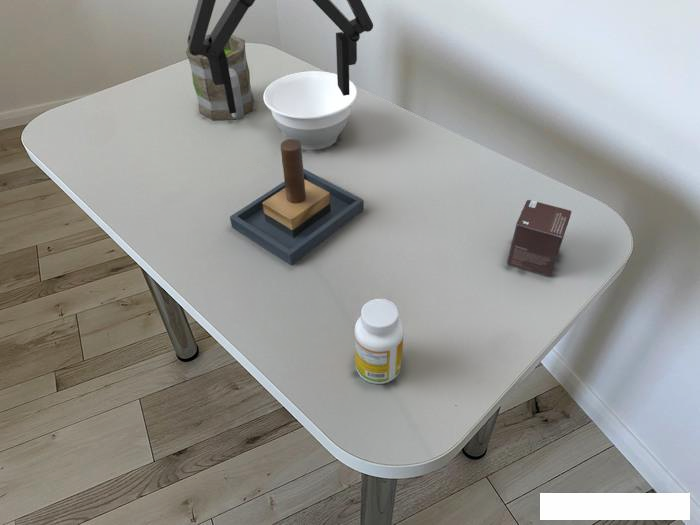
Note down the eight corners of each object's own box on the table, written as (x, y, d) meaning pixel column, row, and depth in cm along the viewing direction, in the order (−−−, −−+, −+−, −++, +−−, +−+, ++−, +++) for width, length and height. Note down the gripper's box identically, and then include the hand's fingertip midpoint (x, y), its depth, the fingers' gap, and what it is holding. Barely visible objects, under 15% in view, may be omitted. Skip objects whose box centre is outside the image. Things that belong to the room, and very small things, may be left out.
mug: (192, 100, 113) (179, 40, 104) (245, 88, 116) (236, 29, 108) (214, 139, 103) (200, 76, 94) (271, 125, 106) (263, 63, 97)
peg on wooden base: (293, 238, 83) (285, 166, 74) (265, 220, 86) (253, 149, 77) (330, 210, 87) (327, 139, 78) (302, 195, 90) (295, 125, 81)
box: (549, 278, 77) (562, 238, 72) (505, 264, 79) (515, 224, 74) (559, 250, 81) (572, 210, 76) (517, 238, 83) (527, 197, 78)
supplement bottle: (383, 340, 70) (385, 286, 63) (410, 371, 67) (415, 317, 60) (346, 360, 68) (344, 306, 61) (372, 393, 65) (373, 340, 58)
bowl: (301, 105, 111) (298, 63, 105) (374, 127, 105) (374, 83, 99) (250, 145, 101) (243, 101, 95) (327, 172, 95) (324, 126, 89)
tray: (291, 265, 80) (289, 254, 78) (231, 227, 86) (229, 216, 84) (363, 210, 88) (363, 199, 86) (304, 179, 94) (303, 168, 92)
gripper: (381, -129, 58) (378, 69, 73) (128, -107, 54) (180, 99, 69) (407, -112, 53) (398, 97, 68) (129, -87, 49) (184, 132, 64)
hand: (288, 99), depth 68 cm, fingers open, 13 cm apart
